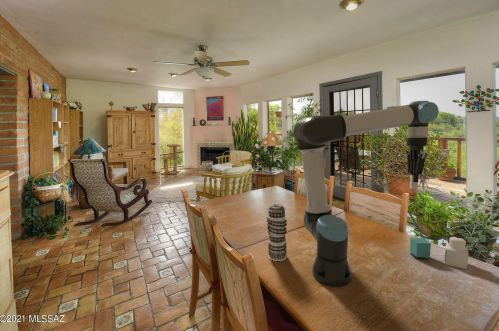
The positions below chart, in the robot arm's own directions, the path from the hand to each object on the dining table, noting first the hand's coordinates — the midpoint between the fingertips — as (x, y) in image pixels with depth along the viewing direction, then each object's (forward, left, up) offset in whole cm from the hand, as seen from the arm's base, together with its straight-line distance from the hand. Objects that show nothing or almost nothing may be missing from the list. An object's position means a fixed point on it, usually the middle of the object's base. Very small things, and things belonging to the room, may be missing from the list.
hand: (413, 188), depth 111 cm
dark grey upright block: (+2, -5, -31) cm, 31 cm away
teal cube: (+2, -5, -29) cm, 30 cm away
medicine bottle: (+14, -10, -31) cm, 35 cm away
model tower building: (-62, -9, -31) cm, 70 cm away
